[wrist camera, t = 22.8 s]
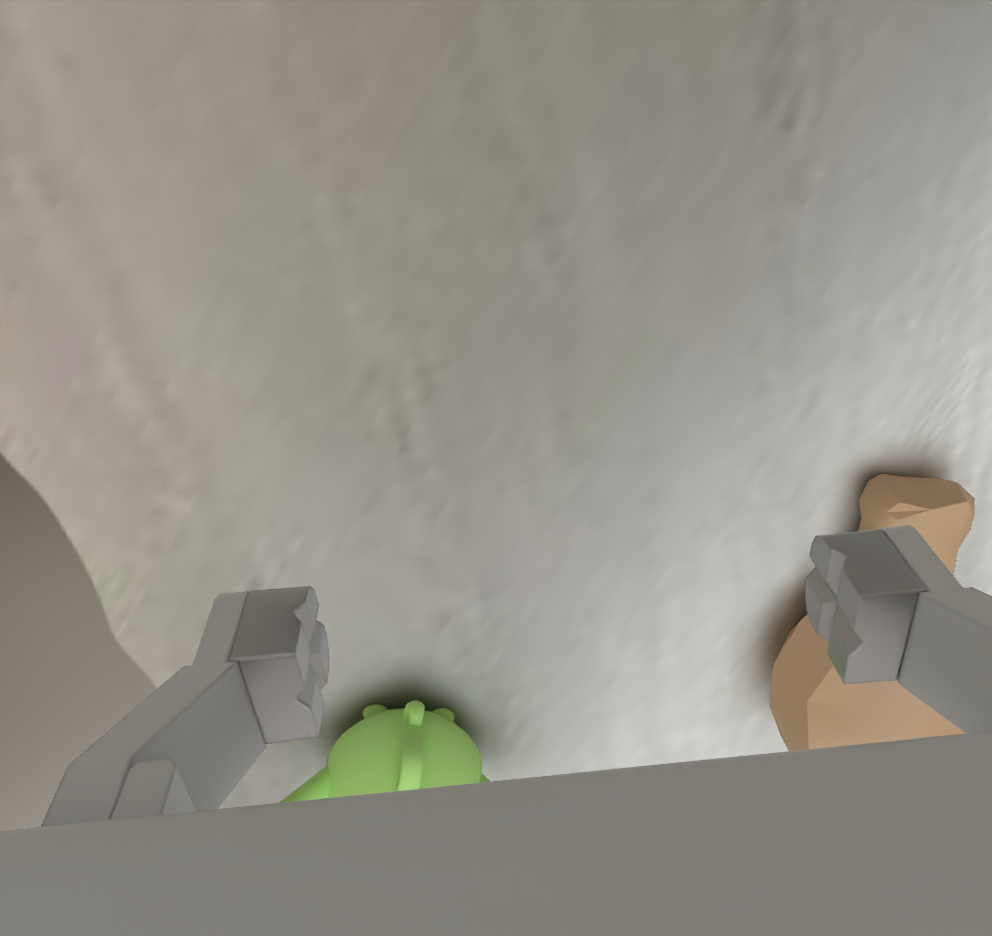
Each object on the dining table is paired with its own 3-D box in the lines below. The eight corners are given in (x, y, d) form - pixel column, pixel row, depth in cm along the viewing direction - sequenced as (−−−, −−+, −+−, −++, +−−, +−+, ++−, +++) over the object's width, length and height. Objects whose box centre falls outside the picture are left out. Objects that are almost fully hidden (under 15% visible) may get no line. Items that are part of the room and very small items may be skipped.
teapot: (420, 647, 51) (417, 764, 44) (529, 746, 56) (543, 864, 49) (281, 729, 54) (258, 851, 47) (397, 816, 59) (392, 937, 52)
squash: (745, 721, 57) (769, 830, 49) (791, 444, 48) (829, 519, 40) (915, 736, 56) (968, 849, 47) (992, 454, 47) (1074, 533, 39)
